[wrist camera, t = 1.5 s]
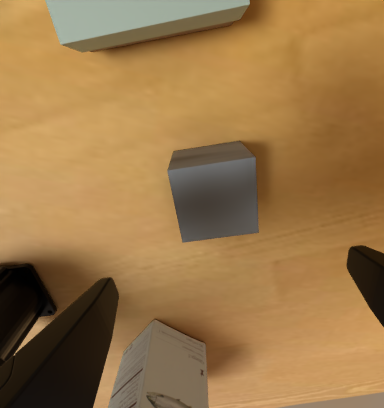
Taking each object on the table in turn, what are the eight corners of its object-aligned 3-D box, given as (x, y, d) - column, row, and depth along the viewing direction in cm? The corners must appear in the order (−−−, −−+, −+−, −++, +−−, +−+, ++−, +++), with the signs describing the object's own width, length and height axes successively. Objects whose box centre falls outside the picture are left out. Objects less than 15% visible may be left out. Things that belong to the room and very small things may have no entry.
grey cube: (243, 200, 20) (258, 232, 15) (184, 208, 20) (182, 242, 15) (239, 140, 18) (255, 157, 13) (173, 151, 18) (167, 170, 13)
